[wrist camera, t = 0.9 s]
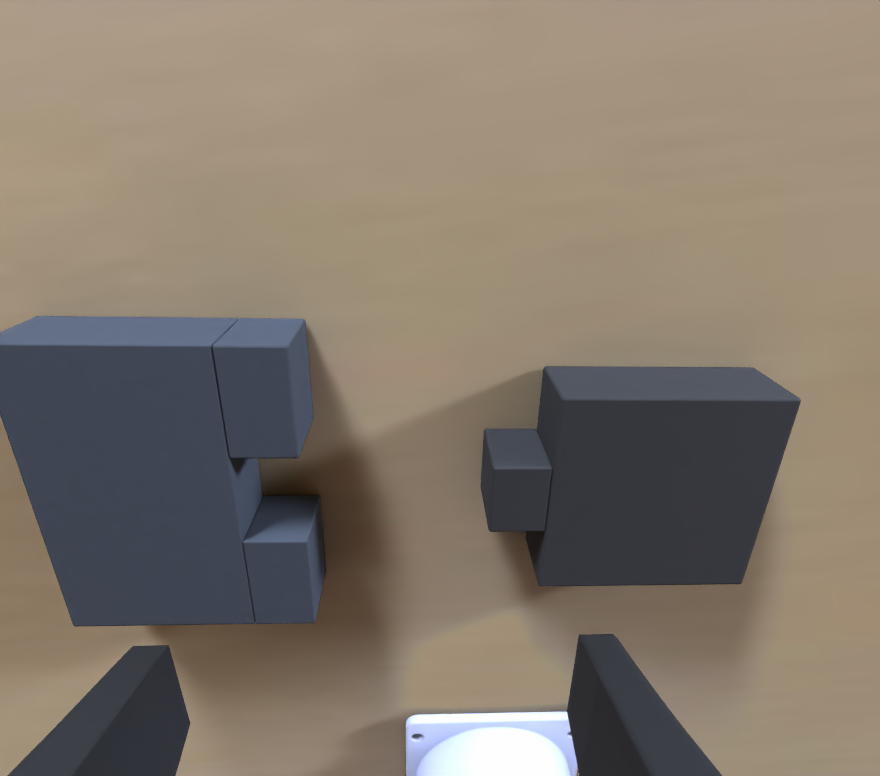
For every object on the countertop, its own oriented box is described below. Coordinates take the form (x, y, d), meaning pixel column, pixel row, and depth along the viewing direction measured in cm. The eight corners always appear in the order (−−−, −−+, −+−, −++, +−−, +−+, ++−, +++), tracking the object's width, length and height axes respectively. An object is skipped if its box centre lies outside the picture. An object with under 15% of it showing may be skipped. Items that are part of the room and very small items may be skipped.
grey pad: (326, 571, 21) (315, 623, 18) (111, 573, 20) (73, 627, 18) (305, 318, 17) (287, 345, 14) (36, 315, 16) (-26, 343, 14)
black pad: (706, 536, 21) (742, 585, 18) (477, 538, 20) (484, 588, 18) (753, 366, 18) (803, 399, 16) (488, 364, 17) (498, 397, 15)
